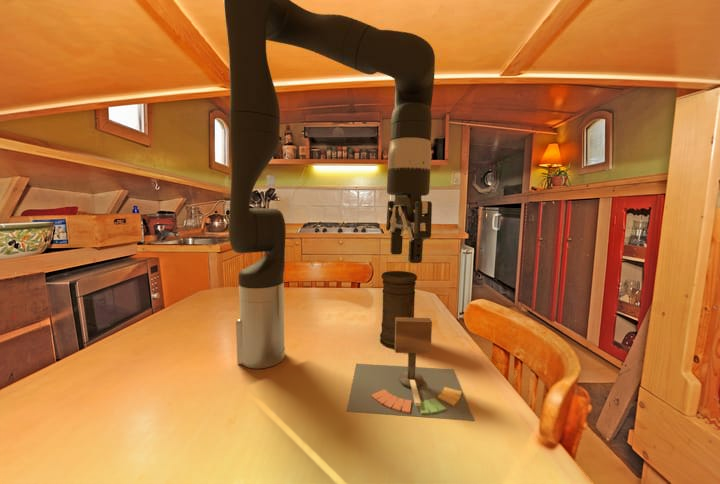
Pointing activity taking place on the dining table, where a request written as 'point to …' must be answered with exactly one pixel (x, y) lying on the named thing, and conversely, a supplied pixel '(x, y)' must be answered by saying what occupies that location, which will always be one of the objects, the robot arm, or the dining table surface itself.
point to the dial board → (407, 393)
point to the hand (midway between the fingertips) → (404, 258)
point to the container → (396, 302)
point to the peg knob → (412, 348)
